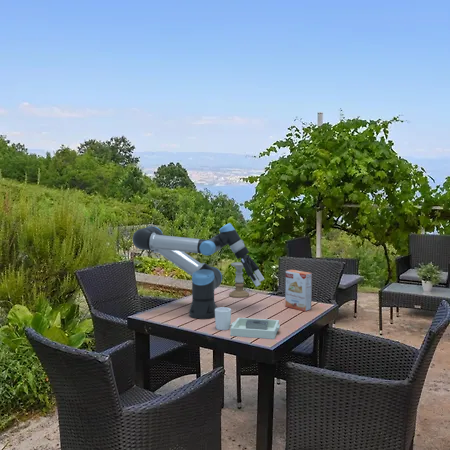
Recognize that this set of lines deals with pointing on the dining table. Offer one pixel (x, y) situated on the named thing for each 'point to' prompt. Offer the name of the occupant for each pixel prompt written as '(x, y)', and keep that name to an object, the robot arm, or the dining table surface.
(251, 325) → the block
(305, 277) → the cracker box
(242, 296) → the candle holder
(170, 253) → the robot arm
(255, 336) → the tray
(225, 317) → the white cup
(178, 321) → the dining table surface
